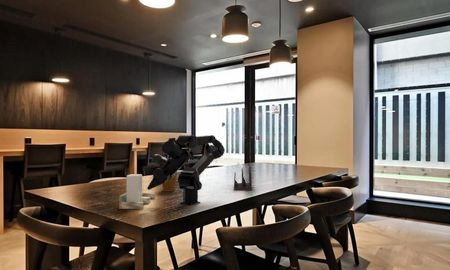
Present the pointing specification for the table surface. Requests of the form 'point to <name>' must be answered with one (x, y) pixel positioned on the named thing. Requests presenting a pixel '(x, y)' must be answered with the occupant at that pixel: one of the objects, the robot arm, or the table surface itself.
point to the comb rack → (135, 205)
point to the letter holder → (243, 182)
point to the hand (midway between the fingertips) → (150, 187)
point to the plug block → (134, 188)
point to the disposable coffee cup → (170, 184)
